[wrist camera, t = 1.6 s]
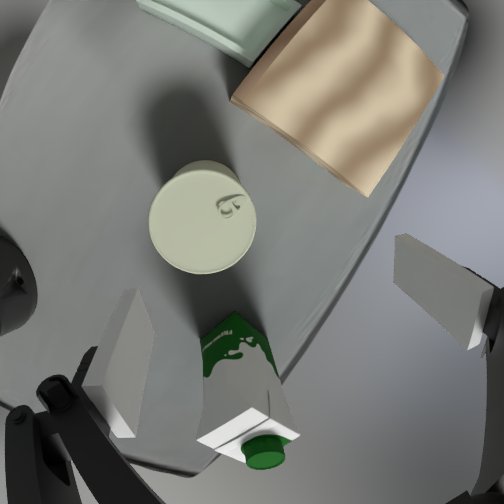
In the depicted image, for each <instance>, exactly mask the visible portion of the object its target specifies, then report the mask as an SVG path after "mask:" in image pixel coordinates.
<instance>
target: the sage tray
mask: <svg viewBox="0 0 504 504" xmlns="http://www.w3.org/2000/svg"><path fill="white" fill-rule="evenodd" d="M136 2H137V3H138V5H139V7H140V9H141V10H142V11H144V12H146V13H149V14H151V15H153V16H155V17H157V18H159V19H162V20H164V21H166V22H168V23H170V24H172V25H174V26H176V27H178V28H180V29H182V30H184V31H186V32H188V33H190V34H192V35H193V36H195V37H197V38H199V39H201V40H203V41H204V42H206V43H208V44H210V45H212V46H213V47H215V48H217V49H219V50H220V51H222V52H224V53H225V54H227V55H229V56H230V57H232V58H234V59H235V60H237V61H239V62H240V63H242V64H243V65H245V66H247V67H248V68H250V67H251V66H252V65H253V63H254V62H255V61H256V60H257V58H258V57H259V56H260V55H261V53H262V52H263V51H264V50H265V49H266V47H267V46H268V45H269V44H270V43H271V41H272V40H273V39H274V38H275V37H276V35H277V34H278V33H279V32H280V31H281V30H282V29H283V27H284V26H285V25H286V24H287V23H288V22H289V21H290V19H291V18H292V17H293V16H294V15H295V14H296V13H297V11H298V10H299V9H300V7H301V6H302V5H301V4H299V3H298V2H296V1H295V0H137V1H136Z"/></svg>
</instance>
